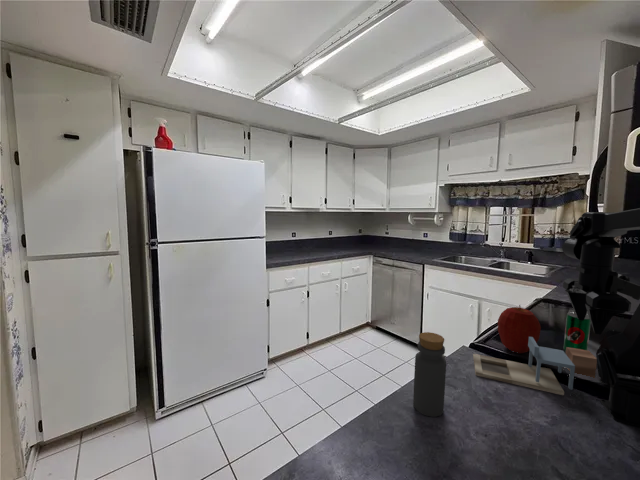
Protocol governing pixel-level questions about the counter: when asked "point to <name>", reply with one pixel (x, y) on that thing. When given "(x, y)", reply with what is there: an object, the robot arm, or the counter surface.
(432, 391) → the bottle
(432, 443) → the counter surface
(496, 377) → the board
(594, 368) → the block
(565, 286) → the robot arm
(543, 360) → the light blue toy chair
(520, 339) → the apple
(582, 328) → the soda can
